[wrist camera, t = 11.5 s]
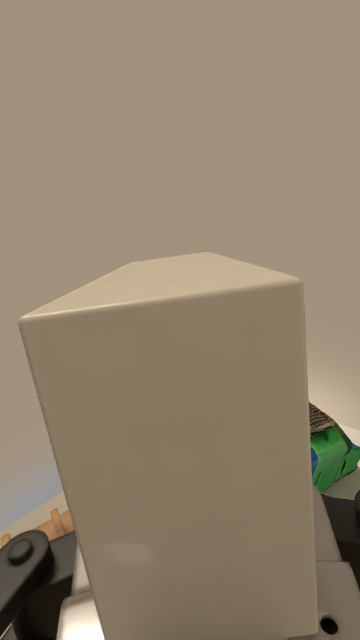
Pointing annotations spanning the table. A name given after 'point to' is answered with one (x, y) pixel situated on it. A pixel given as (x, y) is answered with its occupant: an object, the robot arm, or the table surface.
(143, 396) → the white book
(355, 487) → the table surface
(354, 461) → the sculpture
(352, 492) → the table surface
